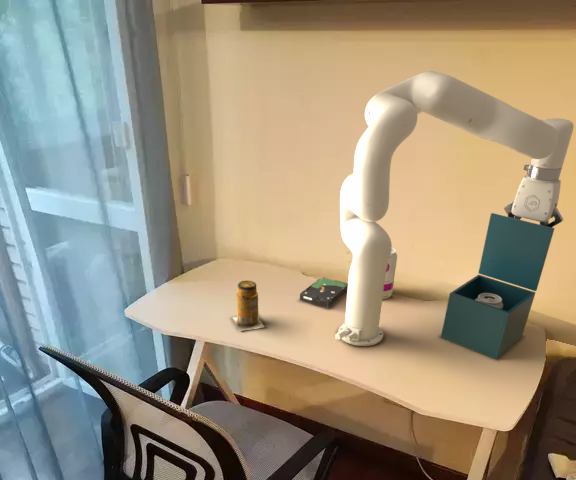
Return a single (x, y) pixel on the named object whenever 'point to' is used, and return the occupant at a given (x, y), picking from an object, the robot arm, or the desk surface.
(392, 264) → the supplement can
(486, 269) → the lid
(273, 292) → the desk surface
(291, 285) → the desk surface
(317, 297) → the disk drive
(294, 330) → the desk surface
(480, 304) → the teal box
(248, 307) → the condiment
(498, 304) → the can
